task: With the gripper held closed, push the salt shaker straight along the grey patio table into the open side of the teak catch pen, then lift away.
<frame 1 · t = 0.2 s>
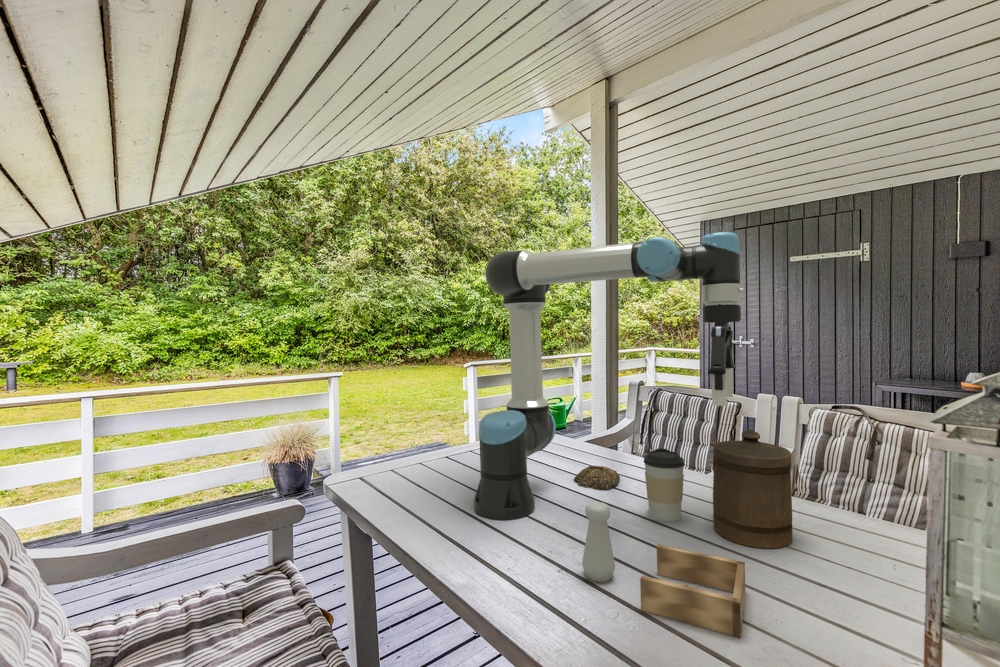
hand: (723, 400, 103), 28 cm above the table, fingers open, 13 cm apart
salt shaker: (598, 577, 84), on the table
coffee cup: (664, 516, 110), on the table
catch pen: (694, 600, 76), on the table
wooden container: (751, 533, 100), on the table
bread roll: (596, 483, 134), on the table
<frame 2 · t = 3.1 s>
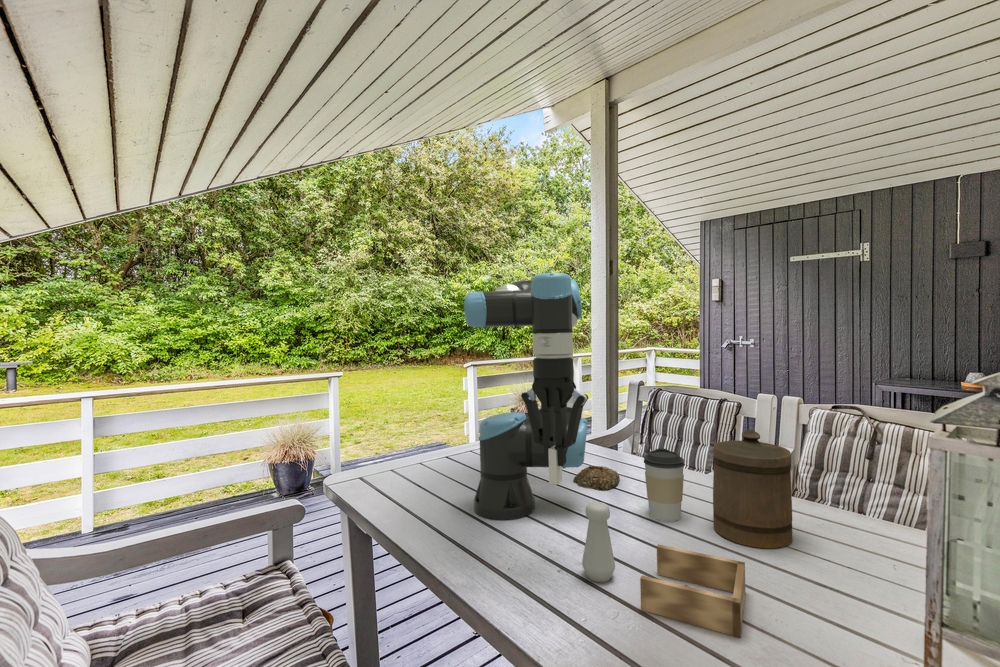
hand: (555, 482, 87), 16 cm above the table, fingers closed
nothing on the table moved.
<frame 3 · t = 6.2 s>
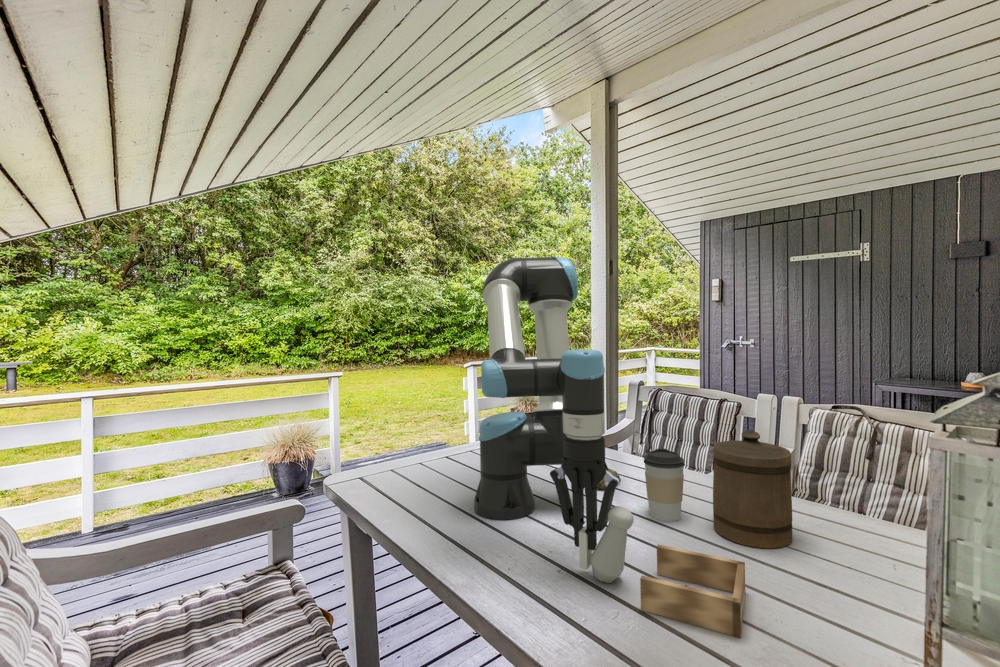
hand: (585, 565, 84), 2 cm above the table, fingers closed
salt shaker: (603, 575, 83), on the table, touching gripper
everything else where it was.
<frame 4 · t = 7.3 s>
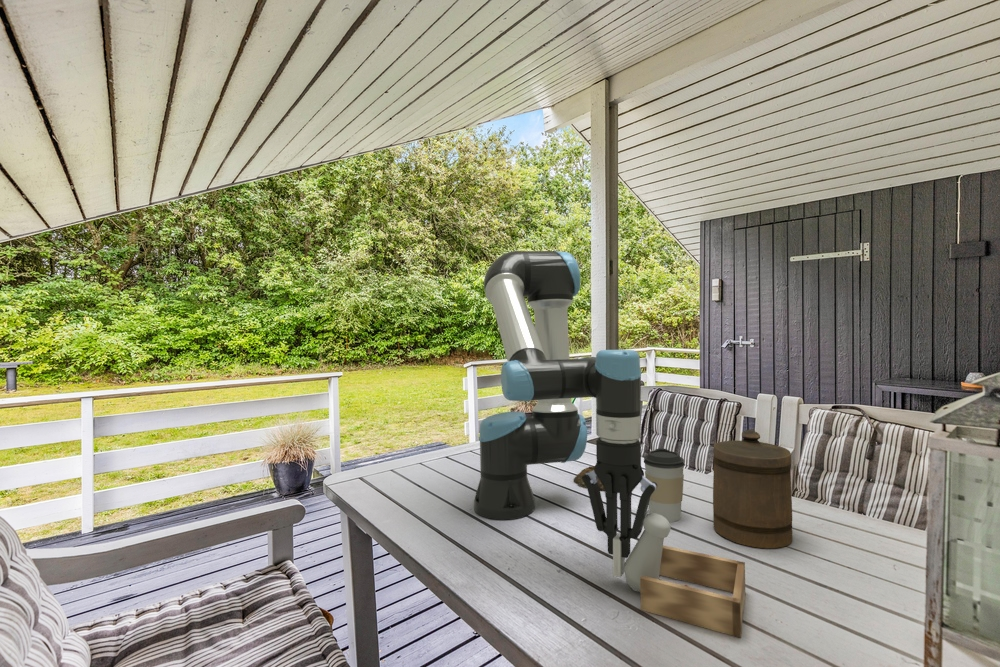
hand: (619, 573, 81), 2 cm above the table, fingers closed
salt shaker: (637, 584, 80), on the table, touching gripper, hand
everything else where it was.
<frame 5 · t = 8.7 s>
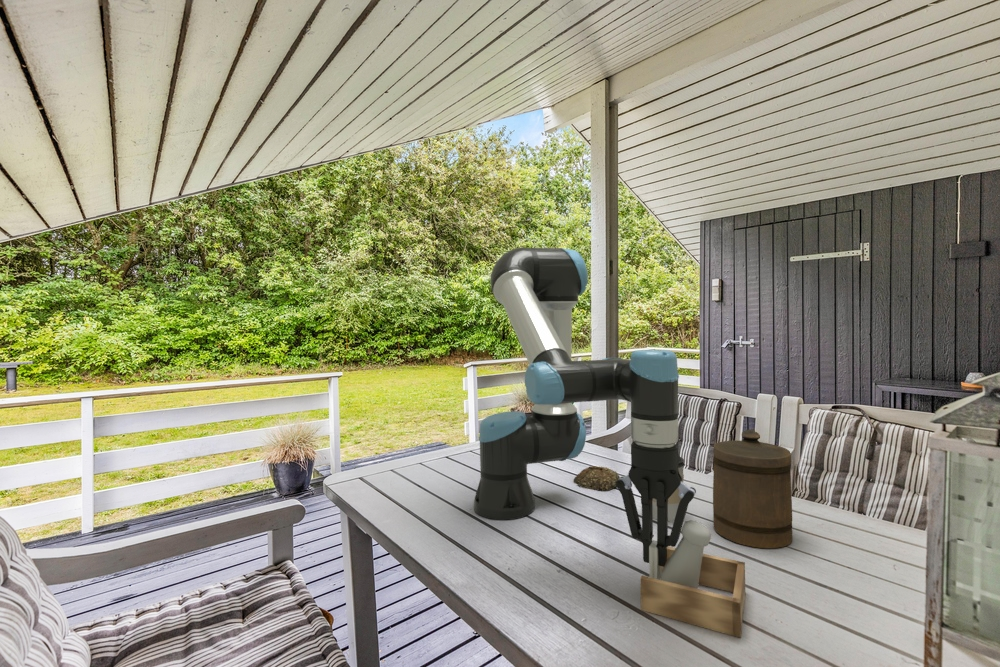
hand: (655, 582, 78), 2 cm above the table, fingers closed
salt shaker: (674, 594, 77), on the table, touching gripper, hand
everything else where it was.
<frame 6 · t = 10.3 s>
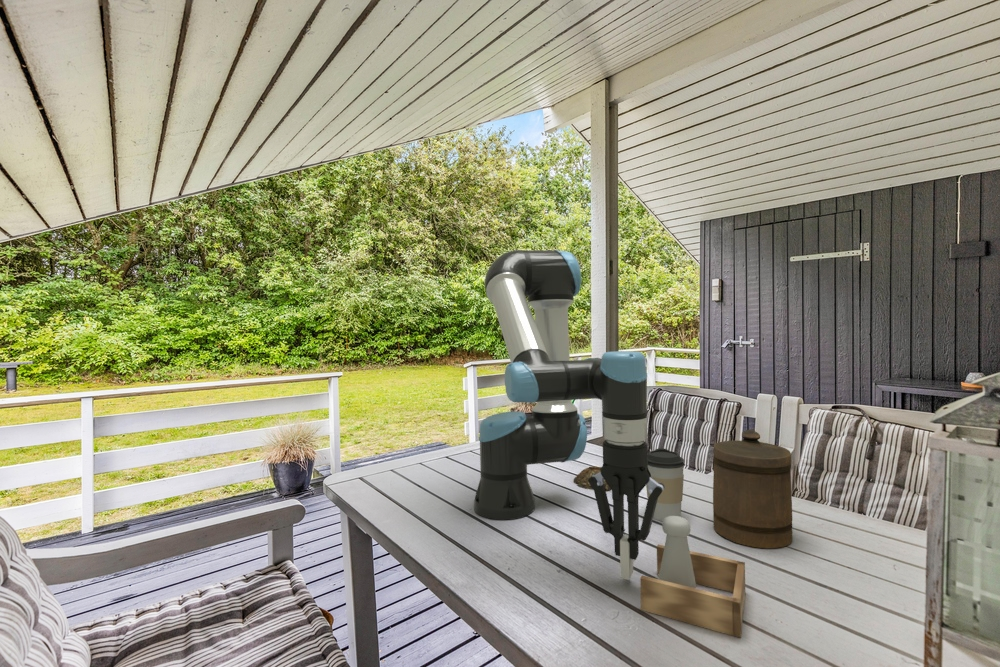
hand: (626, 574, 81), 1 cm above the table, fingers closed
salt shaker: (677, 598, 77), on the table
everything else where it was.
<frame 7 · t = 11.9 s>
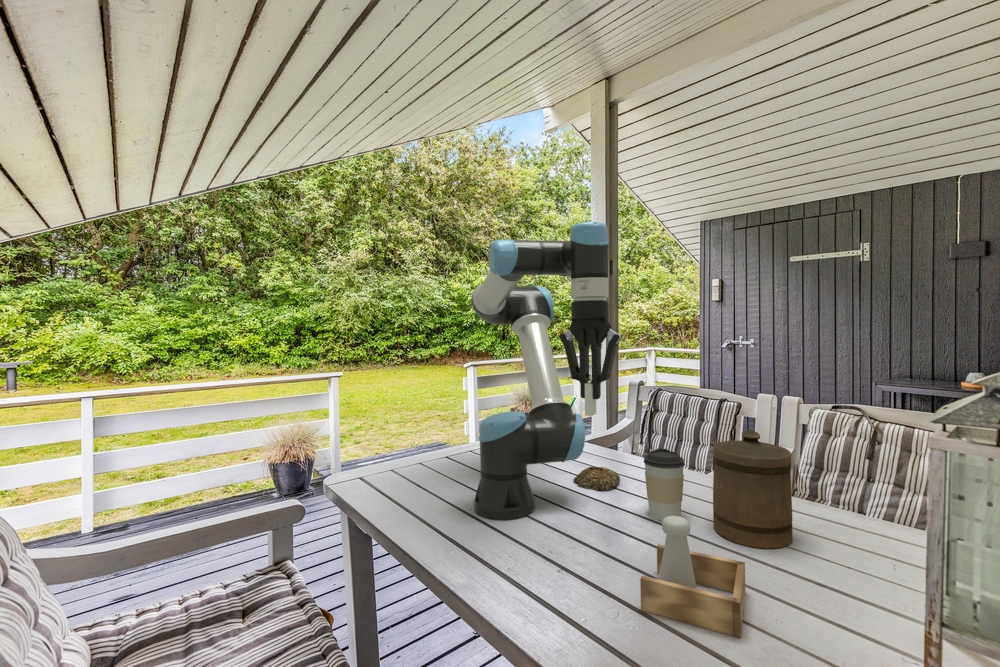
hand: (590, 414, 96), 27 cm above the table, fingers closed
nothing on the table moved.
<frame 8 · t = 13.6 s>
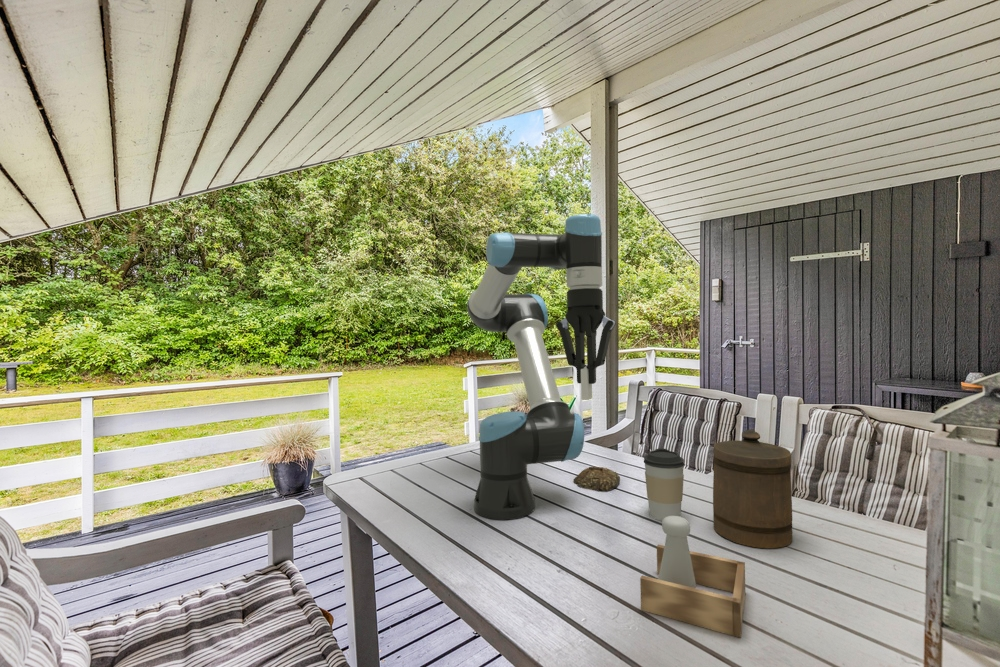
hand: (586, 398, 100), 29 cm above the table, fingers closed
at the end: salt shaker inside the target area on the catch pen (2.4 cm from its centre), point 0.0 cm above the catch pen's base; salt shaker moved 13.4 cm from its start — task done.
